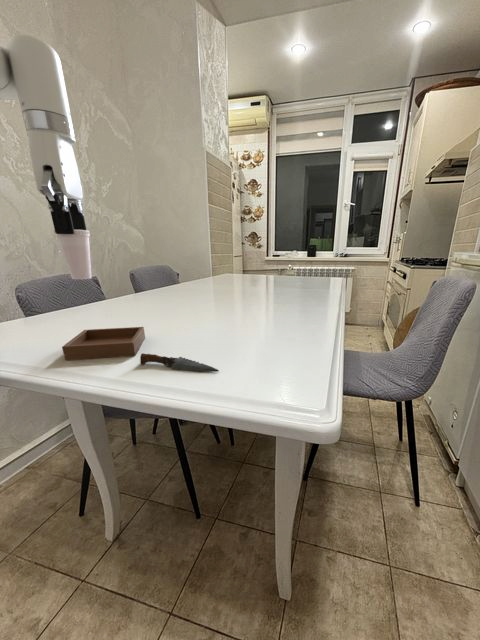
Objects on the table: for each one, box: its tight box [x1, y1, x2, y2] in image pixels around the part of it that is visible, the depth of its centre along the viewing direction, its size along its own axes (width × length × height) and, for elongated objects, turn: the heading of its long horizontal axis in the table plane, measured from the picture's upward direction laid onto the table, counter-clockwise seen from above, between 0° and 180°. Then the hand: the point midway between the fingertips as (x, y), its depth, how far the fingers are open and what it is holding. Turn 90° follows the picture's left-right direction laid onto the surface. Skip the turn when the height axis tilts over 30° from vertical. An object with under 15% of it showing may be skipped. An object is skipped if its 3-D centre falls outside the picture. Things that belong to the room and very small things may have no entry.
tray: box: [61, 326, 146, 361], centre depth 66 cm, size 14×13×3 cm
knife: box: [139, 352, 219, 373], centre depth 56 cm, size 17×2×5 cm
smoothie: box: [53, 229, 92, 280], centre depth 61 cm, size 6×6×14 cm
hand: (72, 233), depth 60 cm, fingers closed on smoothie, 6 cm apart
